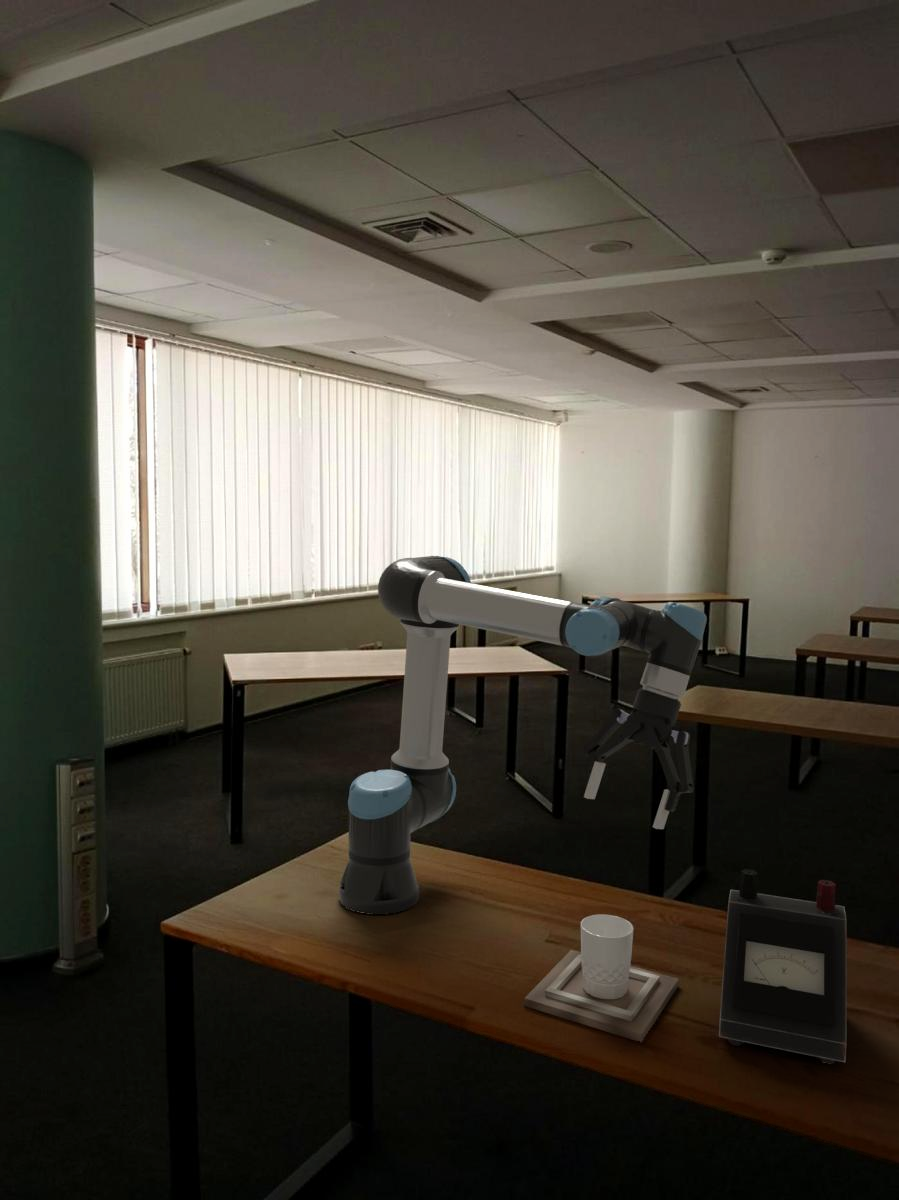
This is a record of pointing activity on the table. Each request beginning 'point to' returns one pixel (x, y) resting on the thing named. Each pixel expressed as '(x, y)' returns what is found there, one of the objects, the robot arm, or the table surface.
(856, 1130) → the table surface
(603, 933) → the white cup
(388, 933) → the table surface
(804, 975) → the voltmeter
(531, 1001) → the framed square tray
